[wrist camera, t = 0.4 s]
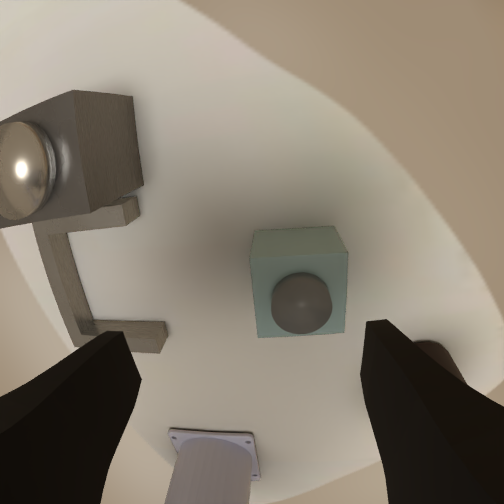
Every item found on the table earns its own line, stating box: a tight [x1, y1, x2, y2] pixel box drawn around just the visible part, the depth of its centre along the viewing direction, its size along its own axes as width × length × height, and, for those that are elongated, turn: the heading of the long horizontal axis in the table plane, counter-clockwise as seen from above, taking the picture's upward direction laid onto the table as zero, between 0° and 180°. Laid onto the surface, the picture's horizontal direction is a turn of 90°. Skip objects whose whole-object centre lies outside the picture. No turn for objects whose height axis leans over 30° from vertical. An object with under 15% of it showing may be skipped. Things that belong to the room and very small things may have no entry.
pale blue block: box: [250, 226, 348, 338], centre depth 17 cm, size 4×4×5 cm
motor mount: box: [0, 90, 168, 353], centre depth 16 cm, size 16×8×7 cm, turn 5°
